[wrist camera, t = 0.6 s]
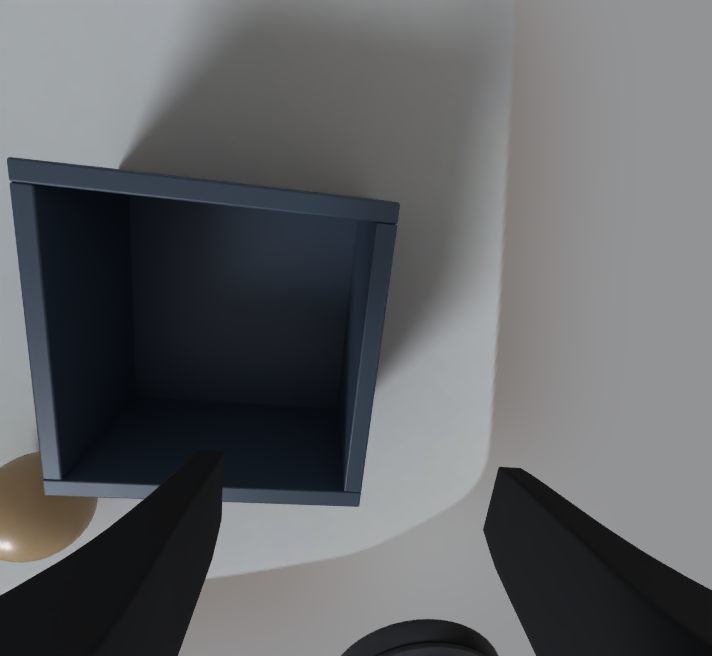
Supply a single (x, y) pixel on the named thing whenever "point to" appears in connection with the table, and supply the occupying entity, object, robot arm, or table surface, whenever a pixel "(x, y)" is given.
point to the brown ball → (37, 513)
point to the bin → (200, 330)
